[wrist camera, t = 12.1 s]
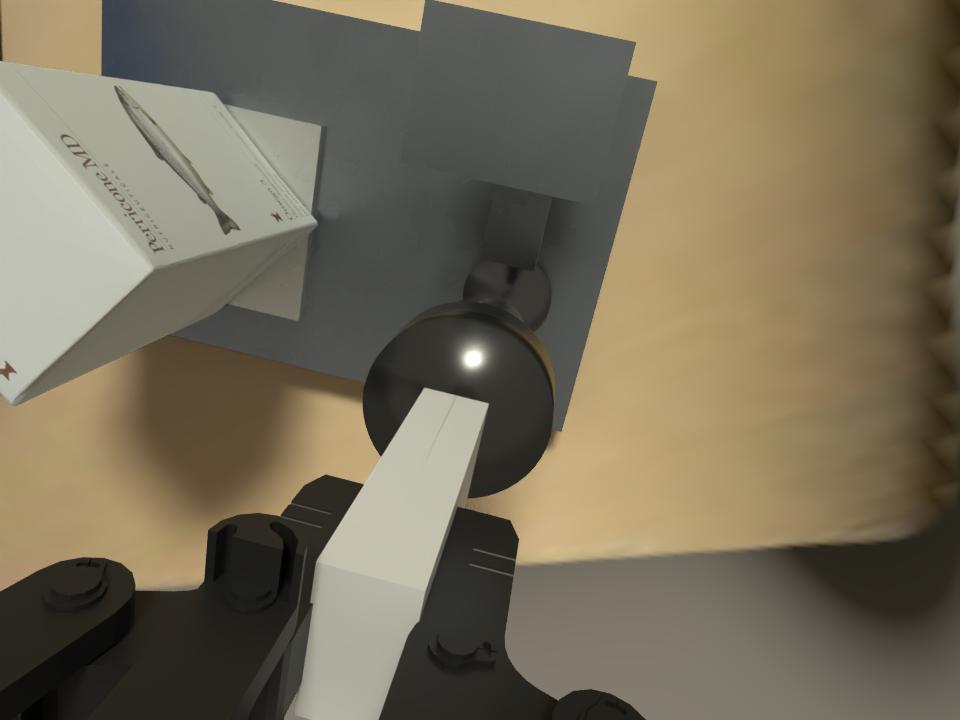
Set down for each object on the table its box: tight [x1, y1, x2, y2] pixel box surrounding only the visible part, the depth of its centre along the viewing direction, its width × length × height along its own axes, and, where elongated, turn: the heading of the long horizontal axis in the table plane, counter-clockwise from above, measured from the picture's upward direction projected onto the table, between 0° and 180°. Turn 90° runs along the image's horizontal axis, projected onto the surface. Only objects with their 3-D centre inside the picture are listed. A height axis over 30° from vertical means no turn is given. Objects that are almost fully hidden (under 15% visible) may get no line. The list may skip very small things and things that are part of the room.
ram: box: [363, 299, 555, 498], centre depth 21 cm, size 5×5×8 cm
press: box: [102, 0, 657, 432], centre depth 24 cm, size 24×16×18 cm, turn 78°
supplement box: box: [0, 61, 318, 406], centre depth 25 cm, size 7×7×13 cm
